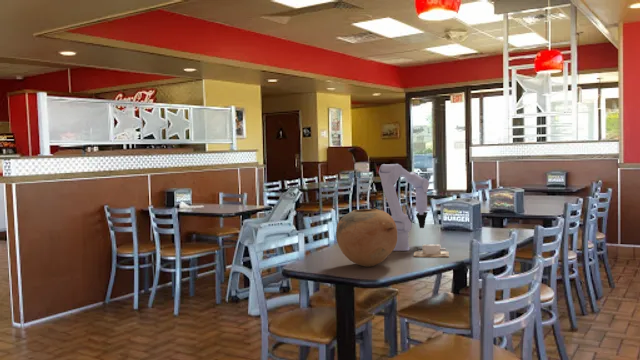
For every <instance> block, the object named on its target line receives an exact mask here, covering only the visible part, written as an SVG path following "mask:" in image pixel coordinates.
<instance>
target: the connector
mask: <svg viewBox="0 0 640 360" xmlns="http://www.w3.org/2000/svg"><path fill="white" fill-rule="evenodd" d="M416 249H417V251H422V253H423V254H441V252H447V248H446V247H442V245H441V244H436V243H434V244H432V243H431V244H430V243H428V244H422V246H421V247H417V248H416Z"/></svg>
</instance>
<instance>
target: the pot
mask: <svg viewBox="0 0 640 360" xmlns="http://www.w3.org/2000/svg"><path fill="white" fill-rule="evenodd" d="M391 216H392V215H390V213H388V212H386V211H384V210H380V209H378V208H366V209H365V208H364V209H353V210H352V211H350V212H348V213H346V214H345V215H343V216H342V217H341V218H340V220H339V221H338V223H337V224H336V228H335V229H336V231H335V232H336V233H335V237H336V243H337V244H338V247H339V249H340V251H341V252H342V254H343V255H344V256H345V258H347V259H348V261H350V262H351V263H354V264H355V265H358V266H361V267H365V268H367V267H374V266H377V265H379V264H380V263H381V264H382V262H383V261H385V260H386V259H387V257H389V256H390V255H391V253H393V252H394V251H393V250H394V248H395V246H396V243H397V227H396V224H395V222H394V220H393V218H392V217H391Z"/></svg>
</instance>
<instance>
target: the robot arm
mask: <svg viewBox="0 0 640 360" xmlns="http://www.w3.org/2000/svg"><path fill="white" fill-rule="evenodd" d="M378 175H379V178H380V180H381V181H380V183H381V186H382V191H383V193H384V196H385V198H386V202H387V204H388V208H389V210H390V213H391V215H390V216H391V217H392V218H393V220H394V222H395V224H396V227H397V243H396V246H395V248H394V250H393V251H392V252H394V251H396V252H398V251H399V252H401V251H402V252H403V251H404V252H409V251H410V250H411V247H410V245H409V243H410V241H409V233H410V231H411V229H412V221H411V220H410V219H409V216H408V215H407V214H406V213H404V212H403V208H402V206H401V204H400V203H401V202H400V200H399V197H398V194H397V191H396V189H395V188H396V187H395V186H394V185H395V183H397V182H398V179H400V177H402V178H404V179H405V181H406V182H407V183H408V184H410V185H411V186H413V188H414V189H415V211H416V214H415V217H416V219H417V222H418V226H419V229H424V228H425V224H426V219H427V216H428V211H429V212H430V210H431V209H430V208H428V191H429V190H428V189H429V187H430V183H429V180H428V179H427V178H425V177H422V176H421V175H418V174H417V173H416V172H415V171H410V172H409V171H408V170H407V169H406V168H404V167H403V166H402V165H401V164H399V163H390V164H385V163H383V164H381V165H380V167H379V169H378Z"/></svg>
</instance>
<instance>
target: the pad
mask: <svg viewBox="0 0 640 360" xmlns="http://www.w3.org/2000/svg"><path fill="white" fill-rule="evenodd" d="M449 257H450V253H449V251H441V254H423V253H422V250H417V251H414V253H413V258H449Z"/></svg>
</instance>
